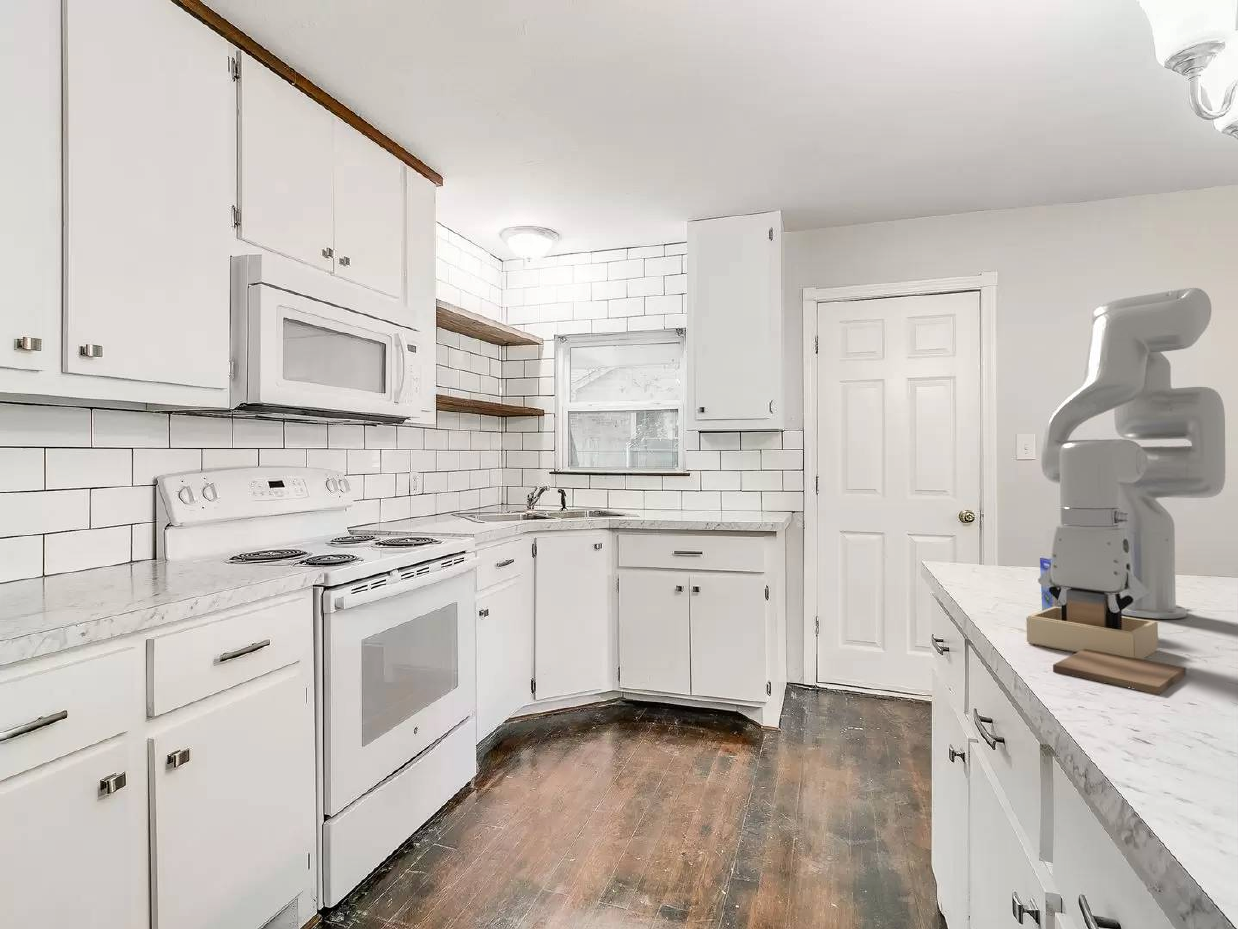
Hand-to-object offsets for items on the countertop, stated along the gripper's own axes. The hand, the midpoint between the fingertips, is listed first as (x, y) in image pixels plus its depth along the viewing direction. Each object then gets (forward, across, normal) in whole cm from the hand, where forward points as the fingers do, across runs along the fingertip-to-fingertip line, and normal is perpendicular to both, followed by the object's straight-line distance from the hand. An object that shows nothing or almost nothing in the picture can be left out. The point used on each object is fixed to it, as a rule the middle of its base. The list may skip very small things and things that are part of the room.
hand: (1091, 631), depth 105 cm
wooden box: (+3, 0, 0) cm, 3 cm away
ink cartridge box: (+3, +6, -12) cm, 14 cm away
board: (+2, -7, +12) cm, 14 cm away
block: (+3, 0, 0) cm, 3 cm away
